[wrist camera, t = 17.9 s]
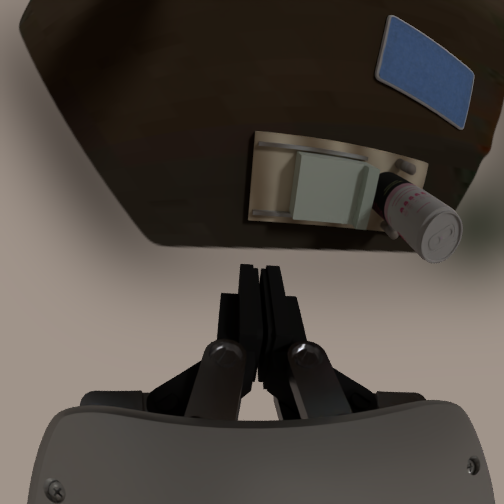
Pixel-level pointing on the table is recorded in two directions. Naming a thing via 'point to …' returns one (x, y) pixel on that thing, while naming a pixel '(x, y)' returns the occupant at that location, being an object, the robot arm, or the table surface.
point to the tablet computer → (424, 71)
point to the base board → (283, 165)
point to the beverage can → (418, 217)
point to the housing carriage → (333, 189)
